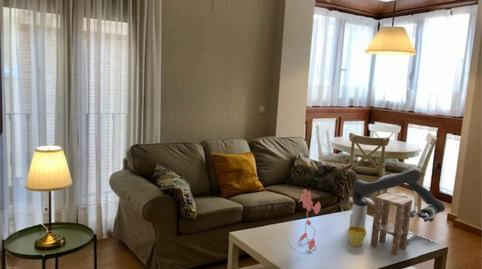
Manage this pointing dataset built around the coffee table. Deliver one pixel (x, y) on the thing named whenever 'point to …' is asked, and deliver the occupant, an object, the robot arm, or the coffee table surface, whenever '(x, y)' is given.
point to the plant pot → (356, 235)
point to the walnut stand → (393, 229)
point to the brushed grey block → (411, 236)
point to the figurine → (307, 203)
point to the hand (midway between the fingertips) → (417, 218)
